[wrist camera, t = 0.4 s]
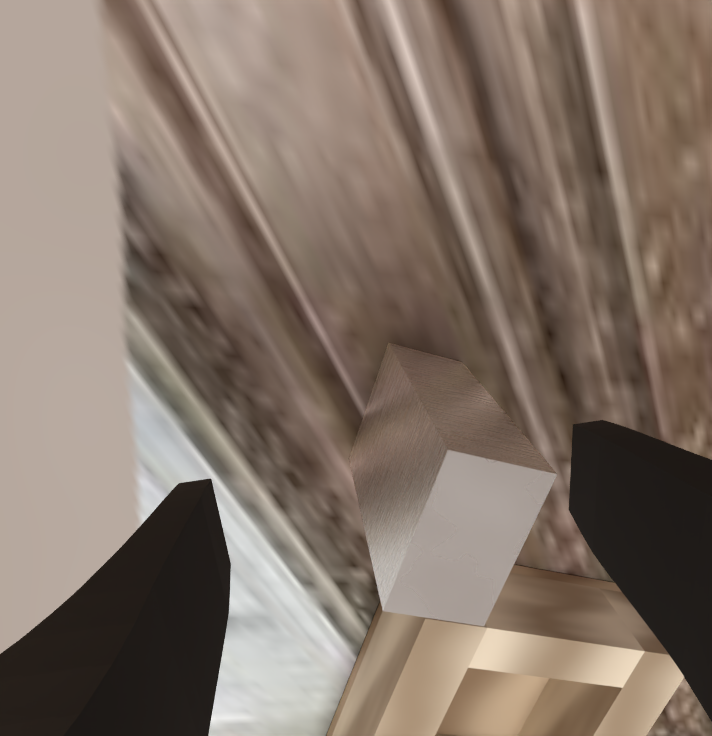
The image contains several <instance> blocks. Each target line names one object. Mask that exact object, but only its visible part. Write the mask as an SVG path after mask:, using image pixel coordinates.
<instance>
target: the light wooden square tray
mask: <svg viewBox="0 0 712 736" xmlns="http://www.w3.org/2000/svg"><path fill="white" fill-rule="evenodd" d="M683 678H684V676H683V674H682V672H681V671H680V670H679V668H678V667H677V665H676V664H675V662H674V661H673V659H672V658H671V657H670V655H669V654H668V652H667V651H666V649H665V648H664V647H663V645H662V644H661V643H660V641H659V640H658V639H657V638H656V636H655V635H654V634H653V632H652V631H651V630H650V628H649V627H648V626H647V624H646V623H645V622H644V620H643V619H642V618H641V616H640V615H639V614H638V612H637V611H636V610H635V609H634V607H633V606H632V605H631V603H630V602H629V601H628V599H627V598H626V597H625V595H624V594H623V593H622V591H621V590H620V589H619V587H618V586H617V585H616V583H613V582H607V581H602V580H596V579H591V578H585V577H579V576H574V575H568V574H563V573H557V572H551V571H546V570H540V569H535V568H529V567H523V566H518V565H513V567H512V569H511V571H510V574H509V576H508V578H507V580H506V582H505V584H504V586H503V588H502V590H501V592H500V594H499V596H498V598H497V601H496V603H495V605H494V607H493V609H492V611H491V613H490V615H489V617H488V619H487V621H486V623H485V625H484V626H478V625H471V624H465V623H458V622H452V621H445V620H438V619H432V618H425V617H418V616H412V615H405V614H398V613H392V612H385V611H383V610H382V605H381V601H380V603H379V605H378V608H377V610H376V613H375V615H374V618H373V620H372V623H371V625H370V628H369V630H368V633H367V635H366V638H365V640H364V643H363V645H362V648H361V650H360V653H359V655H358V658H357V660H356V663H355V665H354V668H353V670H352V673H351V675H350V678H349V680H348V683H347V685H346V688H345V690H344V693H343V695H342V698H341V700H340V703H339V705H338V708H337V710H336V713H335V715H334V718H333V720H332V723H331V725H330V728H329V730H328V733H327V735H326V736H646V735H647V733H648V732H649V730H650V729H651V727H652V726H653V724H654V723H655V721H656V720H657V718H658V717H659V715H660V713H661V712H662V710H663V709H664V707H665V706H666V704H667V703H668V701H669V700H670V698H671V697H672V695H673V694H674V692H675V690H676V689H677V687H678V686H679V684H680V683H681V681H682V680H683Z"/></svg>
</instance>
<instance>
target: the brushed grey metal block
mask: <svg viewBox="0 0 712 736" xmlns="http://www.w3.org/2000/svg"><path fill="white" fill-rule="evenodd" d="M349 462H350V466H351V471H352V475H353V480H354V484H355V489H356V493H357V498H358V502H359V506H360V511H361V515H362V520H363V524H364V529H365V533H366V538H367V542H368V547H369V551H370V556H371V560H372V565H373V569H374V574H375V578H376V583H377V587H378V592H379V596H380V601H381V605H382V610H383V611H385V612H392V613H398V614H405V615H412V616H418V617H425V618H432V619H438V620H445V621H452V622H458V623H465V624H471V625H478V626H484V625H485V623H486V621H487V619H488V617H489V615H490V613H491V611H492V609H493V607H494V605H495V603H496V601H497V598H498V596H499V594H500V592H501V590H502V588H503V586H504V584H505V582H506V580H507V578H508V576H509V574H510V571H511V569H512V567H513V565H514V563H515V561H516V559H517V557H518V555H519V553H520V551H521V549H522V547H523V544H524V542H525V540H526V538H527V536H528V534H529V532H530V530H531V528H532V526H533V524H534V522H535V520H536V517H537V515H538V513H539V511H540V509H541V507H542V505H543V503H544V501H545V499H546V497H547V495H548V493H549V490H550V488H551V486H552V484H553V482H554V480H555V478H556V476H557V473H556V472H555V471H554V470H553V469H552V467H551V466H550V465H549V464H548V463H547V462H546V460H545V459H544V458H543V457H542V456H541V454H540V453H539V452H538V451H537V450H536V449H535V447H534V446H533V445H532V444H531V443H530V441H529V440H528V439H527V438H526V437H525V436H524V434H523V433H522V432H521V431H520V430H519V428H518V427H517V426H516V425H515V424H514V423H513V421H512V420H511V419H510V418H509V417H508V415H507V414H506V413H505V412H504V411H503V410H502V408H501V407H500V406H499V405H498V404H497V402H496V401H495V400H494V399H493V398H492V397H491V395H490V394H489V393H488V392H487V391H486V389H485V388H484V387H483V386H482V385H481V384H480V382H479V381H478V380H477V379H476V378H475V376H474V375H473V374H472V373H471V372H470V371H469V369H468V368H467V367H466V366H465V365H464V363H463V362H460V361H457V360H453V359H449V358H445V357H441V356H437V355H434V354H430V353H426V352H422V351H418V350H414V349H411V348H407V347H403V346H399V345H395V344H392V343H388V346H387V348H386V351H385V354H384V357H383V360H382V363H381V366H380V369H379V372H378V375H377V378H376V381H375V383H374V386H373V389H372V392H371V395H370V398H369V401H368V404H367V407H366V410H365V413H364V416H363V418H362V421H361V424H360V427H359V430H358V433H357V436H356V439H355V442H354V445H353V448H352V451H351V454H350V456H349Z"/></svg>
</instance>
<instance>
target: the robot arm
mask: <svg viewBox="0 0 712 736" xmlns="http://www.w3.org/2000/svg"><path fill="white" fill-rule="evenodd" d="M569 511H570V513H571V515H572V516H573V518H574V520H575V522H576V524H577V526H578V528H579V530H580V531H581V533H582V535H583V537H584V538H585V540H586V542H587V544H588V545H589V547H590V549H591V551H592V552H593V554H594V555H595V556H596V558H597V559H598V561H599V562H600V563H601V565H602V566H603V567H604V569H605V570H606V571H607V573H608V574H609V575H610V577H611V578H612V579H613V581H614V582H615V583H616V585H617V586H618V587H619V589H620V590H621V591H622V593H623V594H624V595H625V597H626V598H627V599H628V601H629V602H630V603H631V605H632V606H633V607H634V609H635V610H636V611H637V612H638V614H639V615H640V616H641V618H642V619H643V620H644V622H645V623H646V624H647V626H648V627H649V628H650V630H651V631H652V632H653V634H654V635H655V636H656V638H657V639H658V640H659V641H660V643H661V644H662V645H663V647H664V648H665V649H666V651H667V652H668V654H669V655H670V657H671V658H672V659H673V661H674V662H675V664H676V665H677V667H678V668H679V670H680V671H681V672H682V674H683V676H684V677H685V679H686V681H687V682H688V684H689V685H690V687H691V689H692V690H693V692H694V694H695V695H696V697H697V698H698V700H699V702H700V703H701V705H702V706H703V708H704V710H705V711H706V713H707V715H708V716H709V718H710V719H711V721H712V460H710V459H708V458H705V457H702V456H700V455H697V454H694V453H692V452H689V451H686V450H684V449H681V448H679V447H676V446H674V445H671V444H668V443H666V442H663V441H661V440H658V439H655V438H653V437H650V436H648V435H645V434H642V433H640V432H637V431H634V430H632V429H629V428H626V427H623V426H620V425H617V424H614V423H611V422H607V421H604V420H600V421H593V422H587V423H580V424H573V436H572V456H571V477H570V497H569ZM230 569H231V563H230V559H229V555H228V550H227V546H226V541H225V537H224V533H223V528H222V524H221V520H220V515H219V511H218V507H217V502H216V498H215V494H214V489H213V485H212V480H211V479H205V480H198V481H192V482H185V483H179V484H178V485H177V486H176V487H175V488H174V489H173V490H172V491H171V492H170V493H169V495H168V496H167V497H166V498H165V499H164V500H163V501H162V503H161V504H160V505H159V506H158V507H157V508H156V509H155V510H154V512H153V513H152V514H151V515H150V516H149V517H148V518H147V520H146V521H145V522H144V523H143V524H142V525H141V526H140V527H139V528H138V529H137V531H136V532H135V533H134V534H133V535H132V536H131V537H130V538H129V539H128V540H127V541H126V543H125V544H124V545H123V546H122V547H121V548H120V549H119V550H118V551H117V552H116V553H115V554H114V555H113V556H112V557H111V558H110V559H109V560H108V561H107V562H106V563H105V564H104V565H103V566H102V567H101V568H100V569H99V570H98V571H97V572H96V573H95V574H94V575H93V576H92V577H91V578H90V579H89V580H88V581H87V582H86V583H85V584H84V585H83V586H82V587H81V588H80V589H79V590H78V591H76V592H75V593H74V594H73V595H72V596H71V597H70V598H69V599H68V600H67V601H65V602H64V603H63V604H62V605H61V606H60V607H59V608H57V609H56V610H55V611H54V612H53V613H52V614H51V615H49V616H48V617H47V618H46V619H44V620H43V621H42V622H41V623H40V624H38V625H37V626H36V627H35V628H34V629H32V630H31V631H30V632H29V633H27V634H26V635H25V636H24V637H23V638H21V639H20V640H19V641H17V642H16V643H15V644H13V645H12V646H11V647H9V648H8V649H6V650H5V651H4V652H3V653H1V654H0V736H208V733H209V727H210V721H211V715H212V709H213V703H214V698H215V692H216V686H217V680H218V674H219V668H220V663H221V657H222V651H223V645H224V639H225V633H226V627H227V620H228V614H229V597H230Z"/></svg>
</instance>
